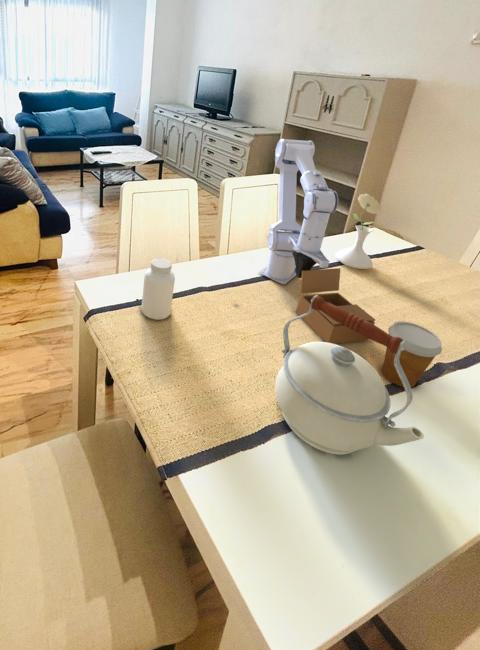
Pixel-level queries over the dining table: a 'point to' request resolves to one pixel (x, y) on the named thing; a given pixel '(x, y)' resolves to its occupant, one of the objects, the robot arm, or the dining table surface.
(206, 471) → the dining table surface
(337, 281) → the flap
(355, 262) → the flower in vase
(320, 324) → the carton
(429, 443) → the dining table surface
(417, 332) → the disposable coffee cup
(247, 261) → the dining table surface
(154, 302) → the pill bottle
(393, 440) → the kettle
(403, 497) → the dining table surface
